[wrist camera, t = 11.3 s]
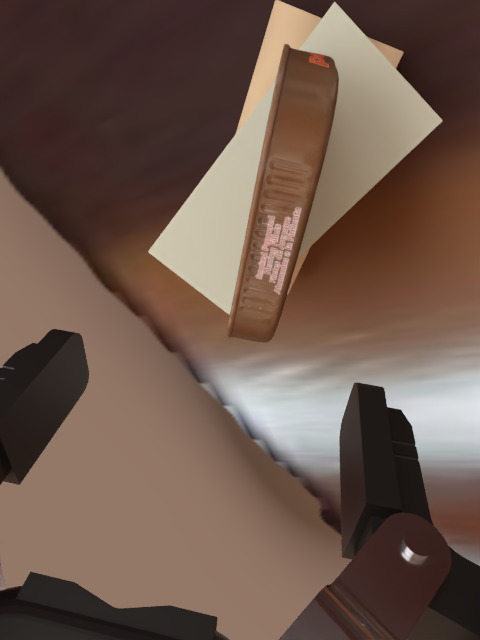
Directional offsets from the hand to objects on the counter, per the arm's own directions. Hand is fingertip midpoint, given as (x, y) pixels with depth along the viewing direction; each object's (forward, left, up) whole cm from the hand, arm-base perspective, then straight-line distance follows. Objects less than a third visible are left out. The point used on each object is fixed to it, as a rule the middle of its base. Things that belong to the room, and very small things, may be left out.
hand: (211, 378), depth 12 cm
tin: (0, 0, -17) cm, 17 cm away
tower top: (0, 0, -21) cm, 21 cm away
